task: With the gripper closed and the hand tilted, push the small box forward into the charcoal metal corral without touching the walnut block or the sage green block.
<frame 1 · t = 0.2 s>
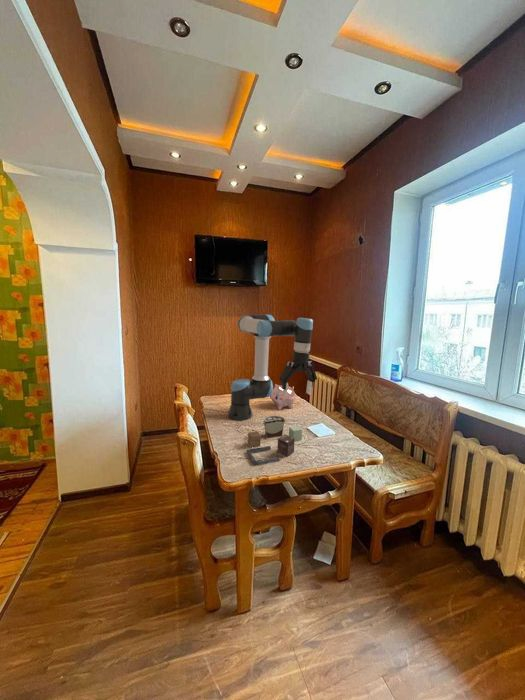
hand: (296, 394, 132), 28 cm above the table, tool pointing down, fingers open, 13 cm apart
food container: (272, 435, 151), on the table
corral: (262, 456, 129), on the table
sage green block: (295, 438, 148), on the table
box: (285, 452, 134), on the table
piggy bank: (282, 406, 195), on the table
walnut block: (254, 444, 140), on the table
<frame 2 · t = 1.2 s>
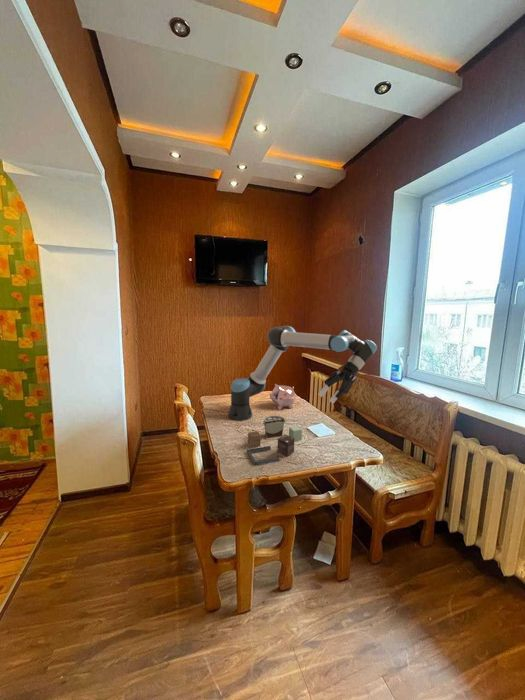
hand: (325, 398, 137), 25 cm above the table, tool tilted 45°, fingers open, 9 cm apart
nothing on the table moved.
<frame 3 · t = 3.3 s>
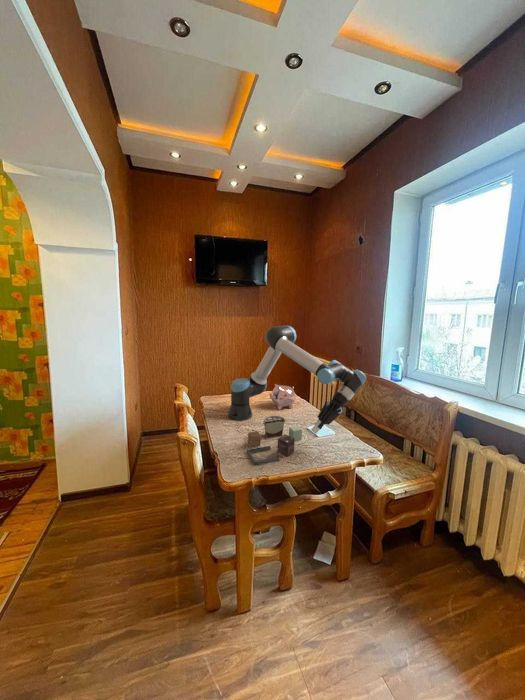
hand: (313, 432, 137), 9 cm above the table, tool tilted 45°, fingers closed
nothing on the table moved.
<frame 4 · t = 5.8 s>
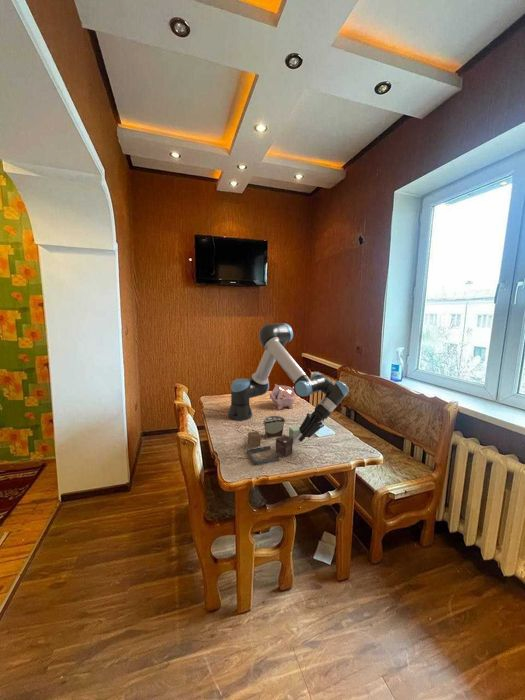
hand: (294, 445, 134), 3 cm above the table, tool tilted 45°, fingers closed
box: (283, 453, 133), on the table, touching gripper
everything else where it was.
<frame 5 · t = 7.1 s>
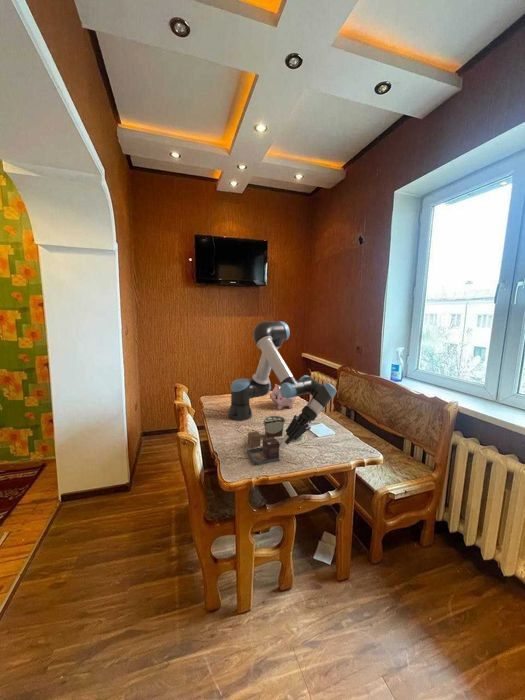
hand: (280, 447, 131), 3 cm above the table, tool tilted 45°, fingers closed
box: (270, 455, 131), on the table, touching gripper
everything else where it was.
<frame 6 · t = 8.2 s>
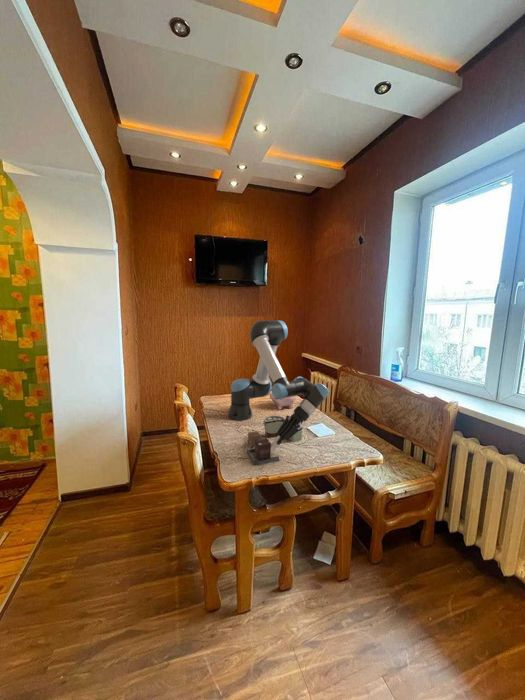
hand: (271, 448, 130), 4 cm above the table, tool tilted 45°, fingers closed
box: (262, 456, 130), on the table, touching gripper
everything else where it was.
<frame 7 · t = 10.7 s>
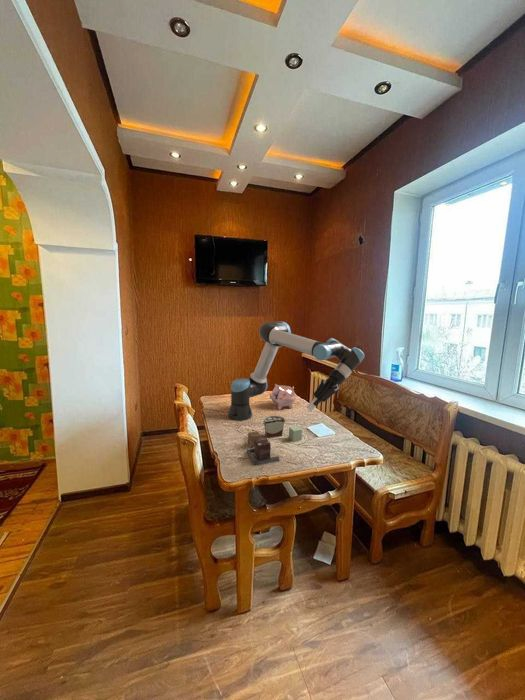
hand: (308, 409, 134), 21 cm above the table, tool tilted 45°, fingers closed
box: (262, 456, 130), on the table
everything else where it was.
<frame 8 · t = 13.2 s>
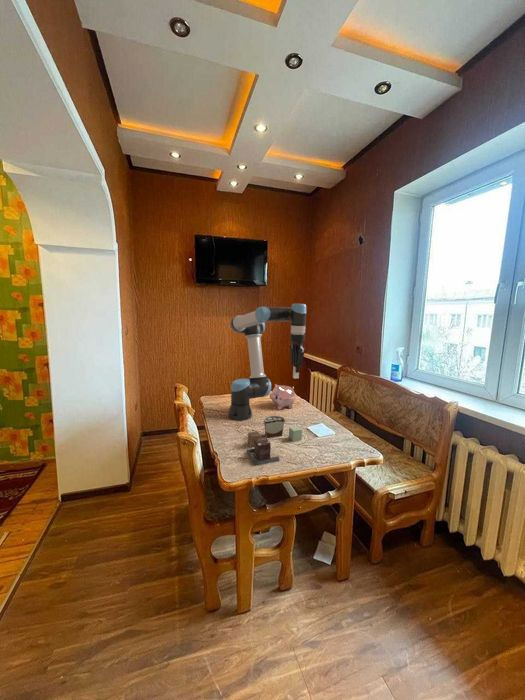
hand: (295, 377, 147), 32 cm above the table, tool pointing down, fingers closed
nothing on the table moved.
at the end: box inside the target area (1.0 cm from its centre), on the table; walnut block moved 0.1 cm from its start; sage green block moved 0.1 cm from its start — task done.
